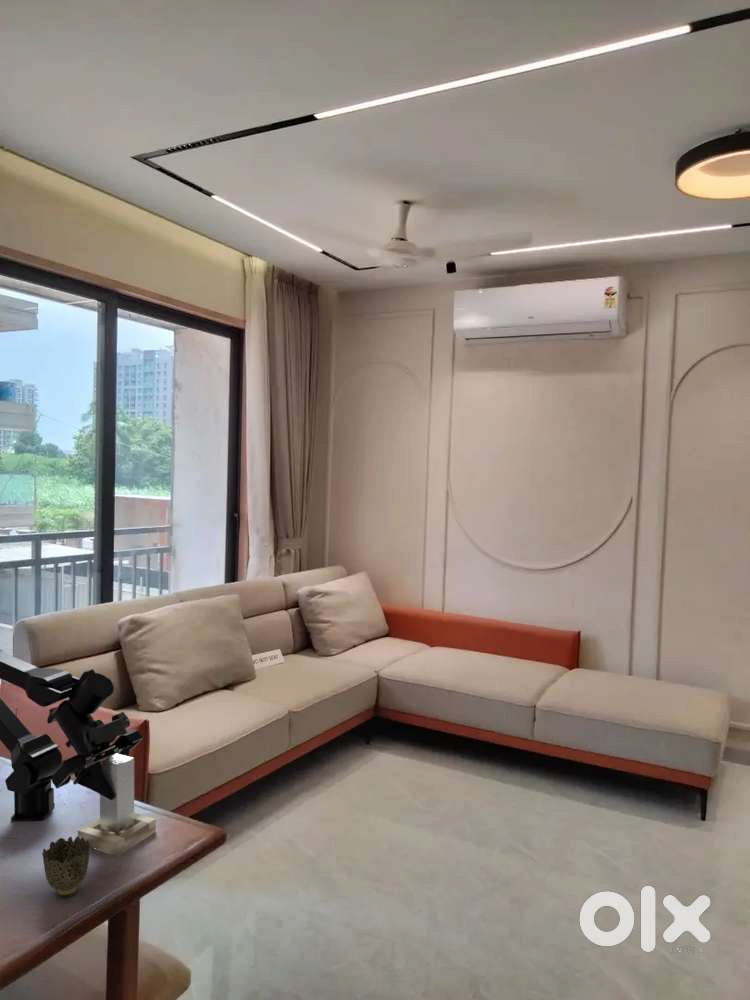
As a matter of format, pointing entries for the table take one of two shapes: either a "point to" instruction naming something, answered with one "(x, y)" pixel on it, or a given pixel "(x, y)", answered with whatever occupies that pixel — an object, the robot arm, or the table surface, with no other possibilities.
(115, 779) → the steel bar
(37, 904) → the table surface
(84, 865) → the cup
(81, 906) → the table surface
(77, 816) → the table surface
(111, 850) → the socket block
